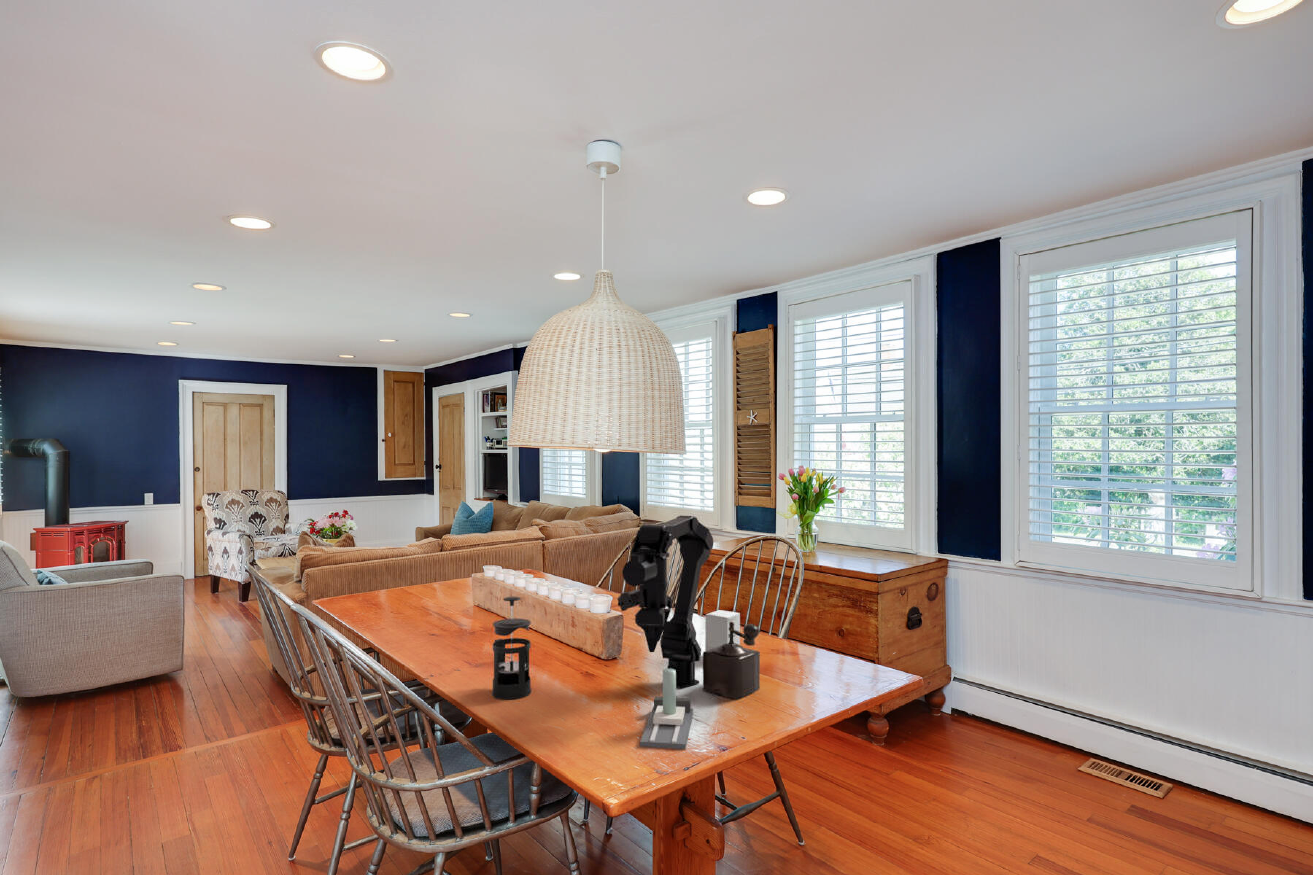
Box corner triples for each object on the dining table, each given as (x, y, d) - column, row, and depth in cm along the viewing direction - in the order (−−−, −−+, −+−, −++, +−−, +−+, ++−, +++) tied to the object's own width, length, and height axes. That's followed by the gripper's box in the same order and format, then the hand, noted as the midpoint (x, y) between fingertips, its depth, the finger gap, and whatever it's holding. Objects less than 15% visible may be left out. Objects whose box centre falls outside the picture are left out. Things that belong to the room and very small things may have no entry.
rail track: (653, 710, 156) (653, 695, 156) (693, 712, 155) (693, 696, 155) (640, 746, 137) (640, 728, 137) (685, 749, 136) (685, 731, 136)
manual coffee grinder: (699, 691, 169) (699, 616, 169) (726, 679, 177) (725, 609, 178) (753, 706, 159) (753, 627, 159) (779, 693, 167) (778, 618, 167)
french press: (540, 693, 167) (540, 597, 168) (507, 703, 161) (507, 603, 161) (513, 682, 176) (513, 590, 176) (480, 691, 169) (480, 596, 169)
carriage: (657, 711, 152) (657, 665, 152) (684, 712, 151) (684, 666, 151) (653, 723, 145) (653, 675, 145) (681, 725, 144) (681, 676, 144)
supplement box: (727, 663, 190) (727, 617, 191) (704, 658, 195) (704, 613, 195) (740, 657, 196) (740, 612, 197) (718, 652, 201) (718, 608, 201)
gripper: (627, 571, 172) (627, 634, 172) (612, 585, 153) (612, 656, 153) (671, 572, 170) (672, 636, 170) (662, 586, 152) (662, 658, 152)
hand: (654, 646), depth 161 cm, fingers open, 9 cm apart
